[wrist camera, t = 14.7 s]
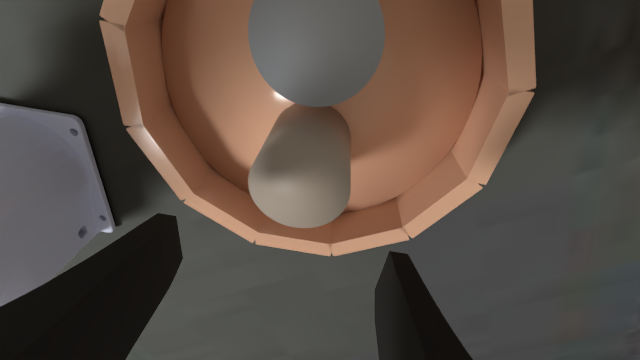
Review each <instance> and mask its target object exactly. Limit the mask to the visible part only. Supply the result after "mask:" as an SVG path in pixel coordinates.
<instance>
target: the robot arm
mask: <svg viewBox="0 0 640 360" xmlns="http://www.w3.org/2000/svg"><path fill="white" fill-rule="evenodd" d="M75 130H76V131H77V132H78V133H77V132H76V131H75ZM114 229H115V223H114V220H113V217H112V214H111V210H110V207H109V204H108V201H107V197H106V194H105V191H104V188H103V185H102V181H101V178H100V175H99V172H98V168H97V165H96V162H95V159H94V156H93V152H92V149H91V146H90V143H89V139H88V136H87V133H86V130H85V126H84V123H83V122H82V120H81V119H80V118H79V117H77V116H75V115H70V114H64V113H58V112H52V111H46V110H40V109H34V108H28V107H22V106H16V105H9V104H3V103H0V360H125V359H126V358H127V356H128V354H129V352H130V351H131V349H132V347H133V346H134V344H135V343H136V341H137V339H138V338H139V336H140V334H141V333H142V331H143V330H144V328H145V326H146V325H147V323H148V322H149V320H150V318H151V317H152V315H153V314H154V312H155V310H156V309H157V307H158V305H159V304H160V302H161V300H162V299H163V297H164V296H165V294H166V292H167V291H168V289H169V287H170V285H171V283H172V281H173V279H174V277H175V275H176V273H177V270H178V268H179V266H180V263H181V261H182V259H183V257H182V251H181V245H180V238H179V232H178V226H177V219H176V216H172V215H166V214H159V213H158V214H156V215H154V216H153V217H151V218H150V219H148V220H147V221H145V222H144V223H142V224H140V225H139V226H137V227H136V228H134V229H133V230H131V231H130V232H128V233H127V234H125V235H124V236H122V237H121V238H119V239H118V240H116V241H115V242H113V243H111V244H110V245H108V246H107V247H105V248H104V249H102V250H100V251H99V252H97V253H96V254H94V255H93V256H91V257H89V258H88V259H86V260H84V261H83V262H81V263H79V264H77V265H76V266H74V267H72V268H71V269H69V270H67V271H66V272H64V273H62V274H61V275H59V276H57V277H55V276H56V275H57V274H58V273H59V272H60V271H61V270H62V269H63V268H64V267H65V266H66V265H67V264H68V263H69V262H70V261H71V260H72V259H73V258H74V257H75V256H76V255H77V254H78V253H79V252H80V251H81V250H82V249H83V248H84V247H85V246H86V245H87V244H88V243H89V242H90V241H91V240H92V239H93V238H94V237H95V236H96V235H97V234H98V233H99V232H100V231H102V232H112V231H113V230H114ZM53 277H55V278H54V279H52V278H53ZM51 279H52V280H51ZM375 326H376V335H377V344H378V353H379V360H473V359H472V358H471V356H470V355H469V354H468V352H467V351H466V349H465V348H464V347H463V345H462V344H461V342H460V341H459V339H458V338H457V336H456V335H455V333H454V332H453V330H452V329H451V327H450V326H449V324H448V322H447V321H446V319H445V318H444V316H443V314H442V313H441V311H440V310H439V308H438V306H437V305H436V303H435V301H434V300H433V298H432V296H431V295H430V293H429V291H428V289H427V288H426V286H425V284H424V282H423V281H422V279H421V277H420V275H419V273H418V272H417V270H416V268H415V266H414V264H413V262H412V261H411V259H410V257H409V256H408V254H404V253H397V252H391V251H389V254H388V256H387V259H386V262H385V264H384V267H383V270H382V272H381V275H380V278H379V280H378V283H377V286H376V288H375Z"/></svg>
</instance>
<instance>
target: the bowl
mask: <svg viewBox="0 0 640 360" xmlns="http://www.w3.org/2000/svg"><path fill="white" fill-rule="evenodd" d="M253 1H254V0H104V1H103V4H102V7H101V11H100V14H99V15H100V16H101V17H102V18H104V19H105V20H100V21H99V22H100V27H101V31H102V35H103V39H104V44H105V48H106V52H107V57H108V61H109V65H110V69H111V74H112V78H113V82H114V87H115V91H116V95H117V99H118V104H119V108H120V112H121V117H122V121H123V125H126V126H129V127H128V128H126V130H127V132H128V133H129V134H130V136H131V137H132V138H133V139H134V141H135V142H136V143H137V145H138V146H139V147H140V148H141V150H142V151H143V152H144V154H145V155H146V156H147V157H148V159H149V160H150V161H151V163H152V164H153V165H154V166H155V168H156V169H157V170H158V172H159V173H160V174H161V175H162V177H163V178H164V179H165V181H166V182H167V183H168V185H169V186H170V187H171V188H172V190H173V191H174V192H175V194H176V195H177V196H178V197H179V199H180V200H183V199H186V198H187V199H186V200H185V202H184V203H185V204H187V205H188V206H190V207H192V208H193V209H195V210H197V211H199V212H200V213H202V214H204V215H205V216H207V217H209V218H210V219H212V220H214V221H216V222H217V223H219V224H221V225H222V226H224V227H226V228H228V229H229V230H231V231H233V232H234V233H236V234H238V235H240V236H241V237H243V238H245V239H246V240H248V241H250V242H252V243H253V242H254V241H255V240H256V244H258V245H264V246H270V247H276V248H282V249H288V250H294V251H300V252H307V253H313V254H319V255H325V256H330V255H331V252H332V254H333V256H337V255H342V254H346V253H351V252H356V251H360V250H365V249H369V248H374V247H379V246H383V245H388V244H392V243H397V242H402V241H406V240H409V236H410V237H412V238H414V237H415V236H417V235H418V234H419V233H421V232H422V231H424V230H425V229H426V228H428V227H429V226H431V225H432V224H433V223H435V222H436V221H438V220H439V219H440V218H442V217H443V216H445V215H446V214H447V213H449V212H450V211H452V210H453V209H454V208H456V207H457V206H459V205H460V204H461V203H463V202H464V201H465V200H467V199H468V198H470V197H471V196H472V195H474V194H475V193H477V192H478V191H479V190H481V189H482V188H483V187H482V186H481V184H485V185H486V184H487V182H488V180H489V178H490V176H491V174H492V172H493V171H494V169H495V167H496V165H497V163H498V161H499V159H500V157H501V156H502V154H503V152H504V150H505V148H506V146H507V144H508V142H509V141H510V139H511V137H512V135H513V133H514V131H515V129H516V127H517V126H518V124H519V122H520V120H521V118H522V116H523V114H524V112H525V111H526V109H527V107H528V105H529V103H530V101H531V99H532V97H533V96H534V94H535V93H534V92H533V91H531V90H530V89H534V88H536V69H535V44H534V19H533V0H378V1H379V4H380V6H381V10H382V13H383V18H384V24H385V42H384V49H383V53H382V57H381V60H380V63H379V65H378V67H377V69H376V71H375V73H374V75H373V76H372V78H371V79H370V81H369V82H368V83H367V84H366V85H365V87H364V88H363V89H361V90H360V91H359V92H358V93H357V94H355V95H354V96H353V97H351V98H349V99H348V100H346V101H344V102H341V103H339V104H336V105H332V106H331V107H333V108H334V109H335V110H337V111H338V112H339V113H340V114H341V115H342V116H343V118H344V119H345V121H346V122H347V124H348V127H349V130H350V135H351V193H350V199H349V201H348V204H347V206H346V208H345V209H344V211H343V212H342V213H341V214H340V215H339V216H338V217H337V218H335V219H334V220H333V221H331V222H329V223H327V224H325V225H322V226H318V227H313V228H295V227H290V226H286V225H283V224H280V223H278V222H276V221H274V220H272V219H271V218H269V217H268V216H266V215H265V214H264V213H263V212H262V211H261V210H260V209H259V208H258V207H257V205H256V204H255V202H254V201H253V199H252V197H251V194H250V191H249V186H248V177H249V172H250V169H251V167H252V165H253V163H254V161H255V159H256V157H257V155H258V153H259V151H260V150H261V148H262V146H263V144H264V142H265V140H266V138H267V137H268V135H269V133H270V131H271V129H272V127H273V126H274V124H275V122H276V120H277V118H278V117H279V115H280V114H281V113H282V112H283V111H284V110H285V109H286V108H288V107H289V106H291V105H293V104H295V103H294V102H292V101H290V100H288V99H286V98H284V97H283V96H281V95H280V94H278V93H277V92H276V91H275V90H274V89H272V88H271V87H270V86H269V84H268V83H267V82H266V81H265V80H264V78H263V77H262V75H261V74H260V72H259V71H258V69H257V67H256V65H255V62H254V60H253V57H252V54H251V50H250V46H249V39H248V22H249V15H250V11H251V7H252V4H253ZM408 235H409V236H408Z"/></svg>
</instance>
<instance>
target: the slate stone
mask: <svg viewBox="0 0 640 360" xmlns="http://www.w3.org/2000/svg"><path fill="white" fill-rule="evenodd" d="M248 39H249V46H250V50H251V54H252V57H253V60H254V62H255V65H256V67H257V69H258V71H259V72H260V74H261V75H262V77H263V78H264V80H265V81H266V82H267V83H268V84H269V86H270V87H271V88H272V89H274V90H275V91H276V92H277V93H278V94H280V95H281V96H283V97H284V98H286V99H288V100H290V101H292V102H294V103H297V104H300V105H304V106H309V107H326V106H332V105H336V104H339V103H341V102H344V101H346V100H348V99H349V98H351V97H353V96H354V95H355V94H357V93H358V92H359V91H360V90H361V89H363V88H364V87H365V85H366V84H367V83H368V82H369V81H370V79H371V78H372V76H373V75H374V73H375V71H376V69H377V67H378V65H379V63H380V60H381V57H382V53H383V49H384V42H385V24H384V18H383V13H382V10H381V6H380V4H379V1H378V0H254V1H253V4H252V7H251V11H250V15H249V22H248Z"/></svg>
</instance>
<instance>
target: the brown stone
mask: <svg viewBox="0 0 640 360" xmlns="http://www.w3.org/2000/svg"><path fill="white" fill-rule="evenodd" d="M248 186H249V191H250V194H251V197H252V199H253V201H254V202H255V204H256V205H257V207H258V208H259V209H260V210H261V211H262V212H263V213H264V214H265V215H266V216H268V217H269V218H271V219H272V220H274V221H276V222H278V223H280V224H283V225H286V226H290V227H295V228H313V227H318V226H322V225H325V224H327V223H329V222H331V221H333V220H334V219H335V218H337V217H338V216H339V215H340V214H341V213H342V212H343V211H344V209H345V208H346V206H347V204H348V201H349V199H350V193H351V135H350V130H349V127H348V124H347V122H346V121H345V119H344V118H343V116H342V115H341V114H340V113H339V112H338V111H337V110H335V109H334V108H333V107H331V106H326V107H309V106H304V105H300V104H297V103H295V104H293V105H291V106H289V107H288V108H286V109H285V110H284V111H283V112H282V113H281V114H280V115H279V117H278V118H277V120H276V122H275V124H274V126H273V127H272V129H271V131H270V133H269V135H268V137H267V138H266V140H265V142H264V144H263V146H262V148H261V150H260V151H259V153H258V155H257V157H256V159H255V161H254V163H253V165H252V167H251V169H250V172H249V177H248Z"/></svg>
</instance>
